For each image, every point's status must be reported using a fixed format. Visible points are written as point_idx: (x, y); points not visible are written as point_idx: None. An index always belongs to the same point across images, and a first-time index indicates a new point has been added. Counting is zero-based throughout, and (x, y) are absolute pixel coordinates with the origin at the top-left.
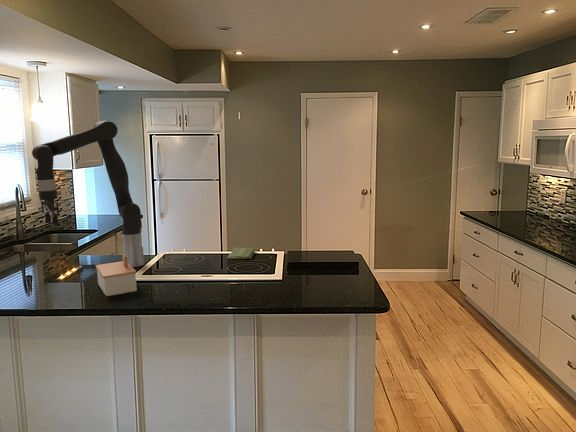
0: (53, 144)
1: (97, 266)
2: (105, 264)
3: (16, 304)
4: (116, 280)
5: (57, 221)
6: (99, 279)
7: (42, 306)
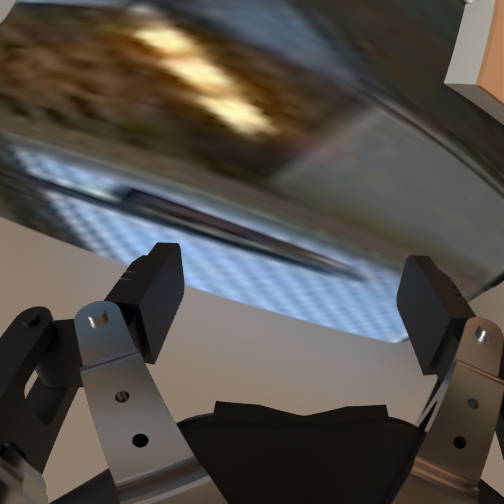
0: None
1: (499, 96)
2: (498, 59)
3: (395, 320)
4: None
5: (453, 288)
6: (490, 106)
7: (464, 287)
